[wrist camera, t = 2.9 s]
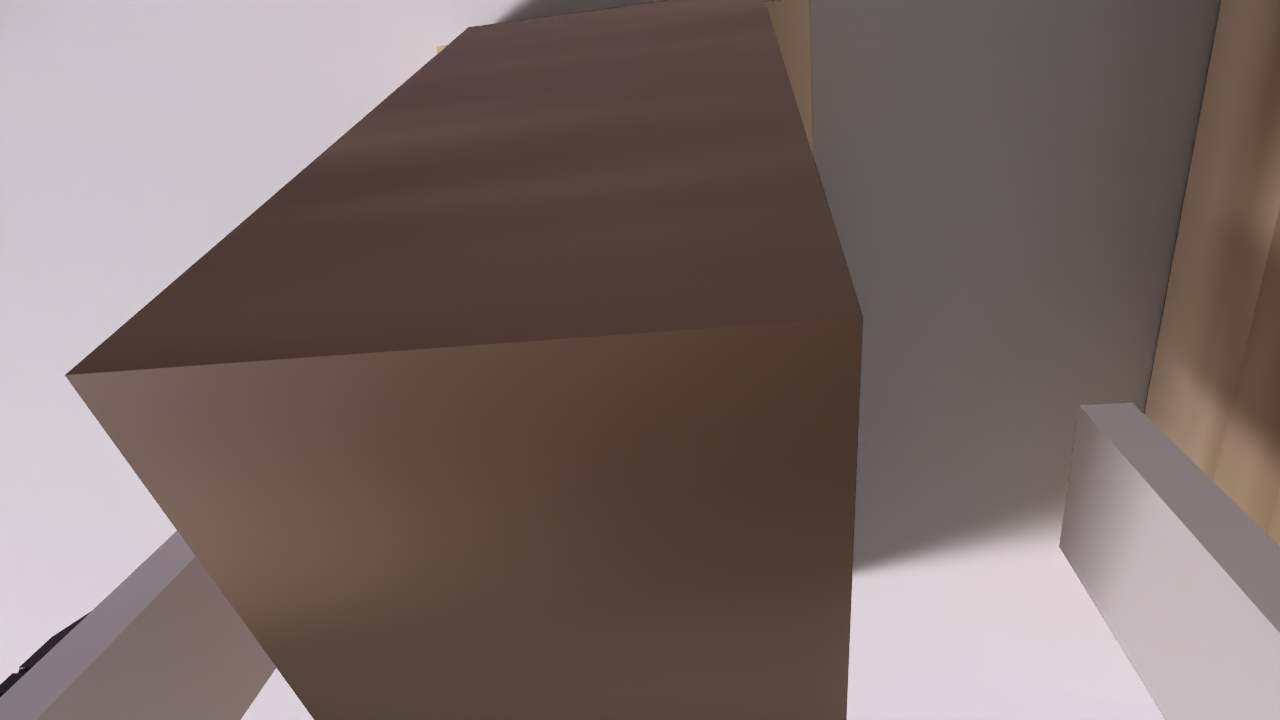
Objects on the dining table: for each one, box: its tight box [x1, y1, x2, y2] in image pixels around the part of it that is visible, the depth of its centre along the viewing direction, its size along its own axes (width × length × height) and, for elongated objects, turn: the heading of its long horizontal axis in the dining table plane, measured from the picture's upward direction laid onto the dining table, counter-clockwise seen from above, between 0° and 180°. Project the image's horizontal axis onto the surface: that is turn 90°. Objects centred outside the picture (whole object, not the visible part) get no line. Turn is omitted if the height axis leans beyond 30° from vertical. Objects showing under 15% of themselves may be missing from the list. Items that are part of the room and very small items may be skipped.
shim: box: [437, 0, 813, 154], centre depth 13 cm, size 6×2×2 cm, turn 97°
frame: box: [65, 0, 863, 720], centre depth 12 cm, size 14×5×9 cm, turn 7°
